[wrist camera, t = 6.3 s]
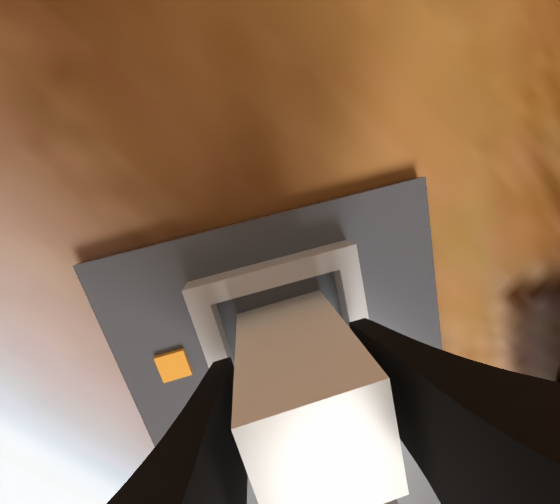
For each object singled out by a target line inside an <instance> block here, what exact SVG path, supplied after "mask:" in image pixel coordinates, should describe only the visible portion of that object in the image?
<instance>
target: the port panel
mask: <svg viewBox="0 0 560 504" xmlns="http://www.w3.org/2000/svg"><path fill="white" fill-rule="evenodd" d="M73 267H74V270H75V272H76V274H77V276H78V278H79V281H80V283H81V285H82V287H83V289H84V292H85V294H86V296H87V298H88V300H89V303H90V305H91V307H92V309H93V311H94V314H95V316H96V318H97V320H98V322H99V325H100V327H101V329H102V331H103V333H104V336H105V338H106V340H107V342H108V345H109V347H110V349H111V351H112V353H113V356H114V358H115V360H116V362H117V364H118V367H119V369H120V371H121V373H122V375H123V378H124V380H125V382H126V384H127V386H128V389H129V391H130V393H131V395H132V397H133V400H134V402H135V404H136V406H137V408H138V411H139V413H140V415H141V417H142V419H143V422H144V424H145V426H146V428H147V430H148V433H149V435H150V437H151V439H152V442H153V444H154V446H155V447H156V445H157V444H158V443H159V441H160V440H161V439H162V437H163V436H164V435H165V433H166V432H167V430H168V429H169V428H170V426H171V425H172V424H173V422H174V421H175V419H176V418H177V417H178V415H179V414H180V412H181V411H182V410H183V408H184V407H185V405H186V404H187V402H188V401H189V399H190V398H191V396H192V394H193V393H194V391H195V390H196V388H197V387H198V385H199V384H200V382H201V380H202V379H203V377H204V376H205V374H206V373H207V371H208V369H209V368H210V366H211V365H212V363H213V362H215V361H218V360H221V359H225V358H228V357H231V359H232V362H233V365H234V362H235V342H236V323H237V314H239V313H242V312H246V311H249V310H252V309H256V308H259V307H263V306H266V305H270V304H273V303H277V302H280V301H283V300H287V299H290V298H294V297H297V296H301V295H304V294H308V293H311V292H314V291H318V290H320V291H321V292H322V294H323V295H324V296H325V297H326V299H327V300H328V301H329V302H330V304H331V305H332V306H333V307H334V309H335V310H336V311H337V313H338V314H339V315H340V316H341V318H342V319H343V320H344V321H345V323H346V324H347V325H348V326H349V322H352V321H356V320H359V319H363V318H367V319H369V320H372V321H374V322H376V323H378V324H381V325H383V326H385V327H387V328H389V329H392V330H394V331H396V332H398V333H401V334H403V335H405V336H408V337H410V338H412V339H415V340H417V341H420V342H422V343H425V344H427V345H430V346H432V347H435V348H438V349H441V350H442V344H441V334H440V323H439V313H438V302H437V292H436V281H435V271H434V260H433V250H432V239H431V229H430V218H429V208H428V198H427V187H426V177H417V178H413V179H409V180H405V181H401V182H398V183H394V184H390V185H386V186H382V187H378V188H374V189H370V190H366V191H362V192H358V193H354V194H350V195H346V196H342V197H338V198H334V199H330V200H326V201H322V202H318V203H314V204H311V205H307V206H303V207H299V208H295V209H291V210H287V211H283V212H279V213H275V214H271V215H267V216H263V217H259V218H255V219H251V220H247V221H243V222H239V223H235V224H231V225H227V226H224V227H220V228H216V229H212V230H208V231H204V232H200V233H196V234H192V235H188V236H184V237H180V238H176V239H172V240H168V241H164V242H160V243H156V244H152V245H148V246H144V247H141V248H137V249H133V250H129V251H125V252H121V253H117V254H113V255H109V256H105V257H101V258H97V259H93V260H89V261H85V262H81V263H79V264H76V265H74V266H73ZM349 328H350V326H349ZM400 444H401V450H402V456H403V462H404V467H405V473H406V479H407V485H408V491H409V495H406V496H403V497H401V498H398V499H395V500H392V501H389V502H387V503H384V504H441V503H440V501H439V500H438V498H437V496H436V494H435V493H434V491H433V489H432V487H431V486H430V484H429V482H428V480H427V479H426V477H425V476H424V474H423V472H422V471H421V469H420V468H419V466H418V465H417V463H416V462H415V460H414V459H413V457H412V456H411V454H410V453H409V451H408V450H407V448H406V447H405V445H404V444H403V442H402V441H401V440H400ZM247 504H258V502H257V499H256V496H255V493H254V491H253V488H252V485H251V482H250V480H249V477H248V481H247Z"/></svg>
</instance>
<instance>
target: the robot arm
mask: <svg viewBox="0 0 560 504" xmlns="http://www.w3.org/2000/svg"><path fill="white" fill-rule="evenodd" d="M349 326H350V329H351V330H352V331H353V333H354V334H355V335H356V337H357V338H358V339H359V340H360V342H361V343H362V344H363V345H364V347H365V348H366V349H367V350H368V352H369V353H370V354H371V355H372V357H373V358H374V359H375V361H376V362H377V363H378V364H379V366H380V367H381V368H382V369H383V371H384V372H385V373H386V374H387V376H388V377H389V378H390V384H391V390H392V396H393V402H394V408H395V414H396V420H397V426H398V432H399V438H400V440H401V441H402V442H403V444H404V445H405V447H406V448H407V450H408V451H409V453H410V454H411V456H412V457H413V459H414V460H415V462H416V463H417V465H418V466H419V468H420V469H421V471H422V472H423V474H424V476H425V477H426V479H427V480H428V482H429V484H430V486H431V487H432V489H433V491H434V493H435V494H436V496H437V498H438V500H439V501H440V503H441V504H560V382H555V381H550V380H546V379H542V378H537V377H533V376H529V375H524V374H520V373H516V372H512V371H508V370H504V369H500V368H497V367H493V366H490V365H487V364H483V363H480V362H476V361H473V360H470V359H466V358H463V357H460V356H457V355H454V354H451V353H449V352H446V351H443V350H441V349H438V348H435V347H432V346H430V345H427V344H425V343H422V342H420V341H417V340H415V339H412V338H410V337H408V336H405V335H403V334H401V333H398V332H396V331H394V330H392V329H389V328H387V327H385V326H383V325H381V324H378V323H376V322H374V321H372V320H369V319H367V318H363V319H359V320H356V321H352V322H349ZM233 381H234V365H233V362H232V359H231V357H228V358H225V359H221V360H218V361H215V362H213V363H212V365H211V366H210V368H209V369H208V371H207V373H206V374H205V376H204V377H203V379H202V380H201V382H200V384H199V385H198V387H197V388H196V390H195V391H194V393H193V394H192V396H191V398H190V399H189V401H188V402H187V404H186V405H185V407H184V408H183V410H182V411H181V412H180V414H179V415H178V417H177V418H176V419H175V421H174V422H173V424H172V425H171V426H170V428H169V429H168V430H167V432H166V433H165V435H164V436H163V437H162V439H161V440H160V441H159V443H158V444H157V445H156V447H155V448H154V449H153V450H152V452H151V453H150V454H149V455H148V457H147V458H146V459H145V460H144V462H143V463H142V464H141V465H140V466H139V468H138V469H137V470H136V471H135V472H134V474H133V475H132V476H131V477H130V478H129V479H128V481H127V482H126V483H125V484H124V485H123V486H122V487H121V489H120V490H119V491H118V492H117V493H116V494H115V495H114V496H113V497H112V498H111V499H110V501H109V502H108V503H107V504H247V481H248V474H247V472H246V469H245V466H244V463H243V461H242V458H241V455H240V453H239V450H238V447H237V444H236V442H235V439H234V436H233V433H232V431H231V420H232V400H233Z"/></svg>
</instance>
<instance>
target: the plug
mask: <svg viewBox="0 0 560 504" xmlns="http://www.w3.org/2000/svg"><path fill="white" fill-rule="evenodd" d="M231 431H232V433H233V436H234V439H235V442H236V444H237V447H238V450H239V453H240V455H241V458H242V461H243V463H244V466H245V469H246V472H247V474H248V477H249V480H250V482H251V485H252V488H253V491H254V493H255V496H256V499H257V502H258V504H384V503H387V502H389V501H392V500H395V499H398V498H401V497H403V496H406V495H409V491H408V485H407V479H406V473H405V467H404V462H403V456H402V450H401V444H400V438H399V432H398V426H397V420H396V414H395V408H394V402H393V396H392V390H391V384H390V378H389V377H388V376H387V374H386V373H385V372H384V371H383V369H382V368H381V367H380V366H379V364H378V363H377V362H376V361H375V359H374V358H373V357H372V355H371V354H370V353H369V352H368V350H367V349H366V348H365V347H364V345H363V344H362V343H361V342H360V340H359V339H358V338H357V337H356V335H355V334H354V333H353V331H352V330H351V329H350V328H349V326H348V325H347V324H346V323H345V321H344V320H343V319H342V318H341V316H340V315H339V314H338V313H337V311H336V310H335V309H334V307H333V306H332V305H331V304H330V302H329V301H328V300H327V299H326V297H325V296H324V295H323V294H322V292H321V291H320V290H318V291H314V292H311V293H308V294H304V295H301V296H297V297H294V298H290V299H287V300H283V301H280V302H277V303H273V304H270V305H266V306H263V307H259V308H256V309H252V310H249V311H246V312H242V313H239V314H237V323H236V342H235V362H234V381H233V400H232V420H231Z"/></svg>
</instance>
